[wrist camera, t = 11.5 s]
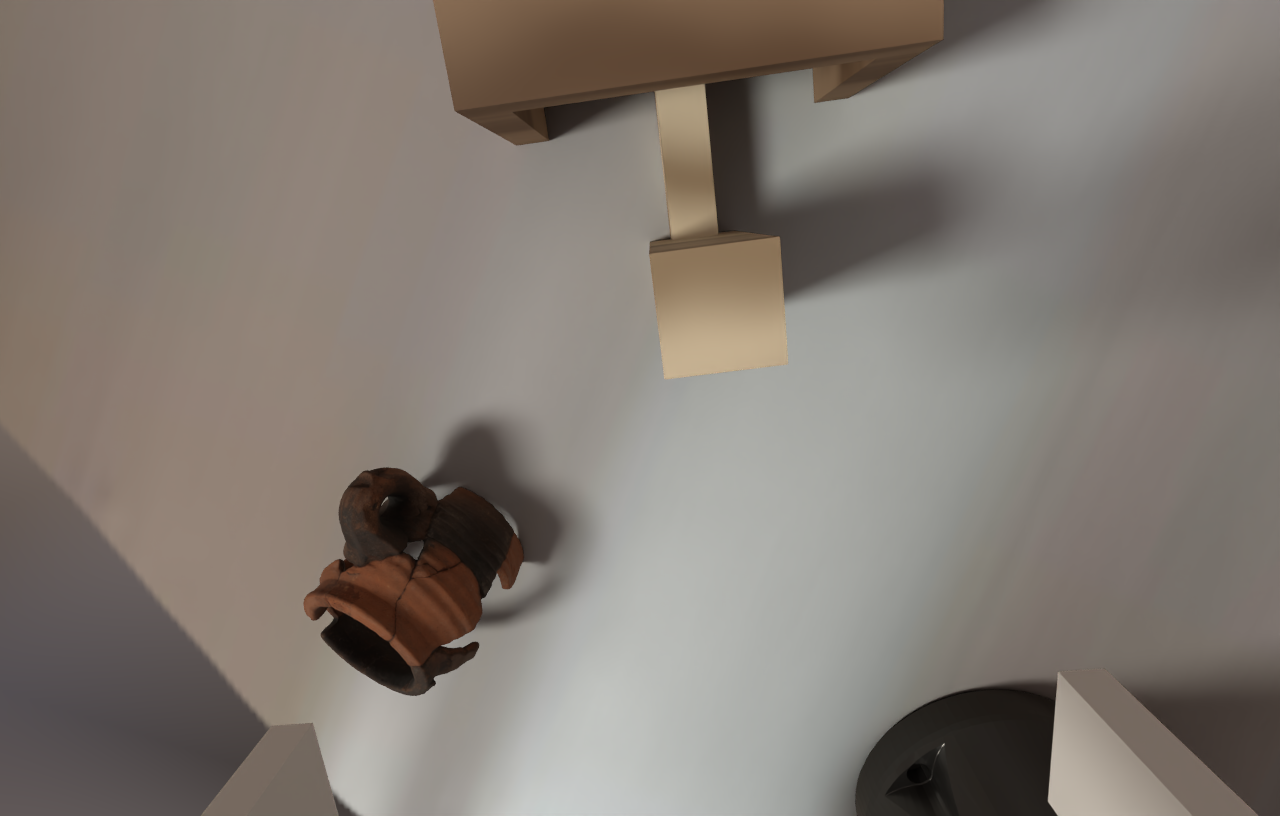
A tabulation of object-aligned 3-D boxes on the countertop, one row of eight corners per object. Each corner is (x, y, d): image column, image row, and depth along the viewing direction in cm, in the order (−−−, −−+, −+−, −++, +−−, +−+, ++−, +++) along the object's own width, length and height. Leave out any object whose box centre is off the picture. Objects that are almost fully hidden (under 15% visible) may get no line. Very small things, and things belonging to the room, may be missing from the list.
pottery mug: (557, 595, 36) (471, 729, 30) (436, 569, 41) (340, 682, 35) (480, 424, 30) (353, 550, 24) (347, 416, 34) (212, 521, 28)
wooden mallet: (782, 309, 31) (850, 356, 20) (619, 330, 31) (603, 386, 21) (742, -286, 24) (813, -673, 14) (538, -249, 25) (455, -598, 14)
